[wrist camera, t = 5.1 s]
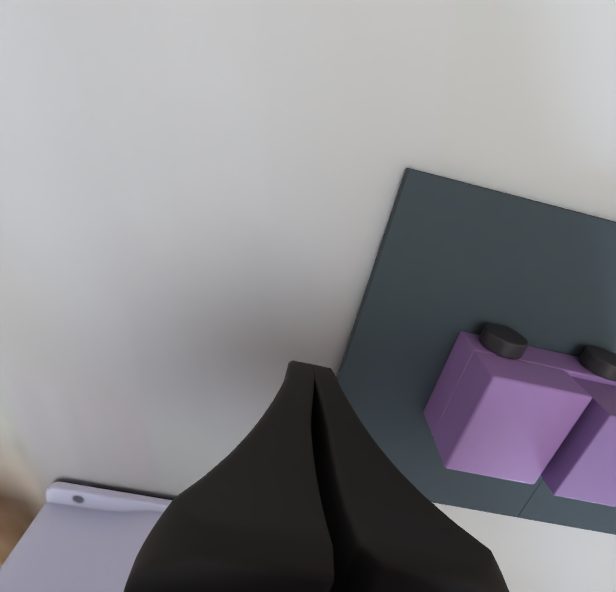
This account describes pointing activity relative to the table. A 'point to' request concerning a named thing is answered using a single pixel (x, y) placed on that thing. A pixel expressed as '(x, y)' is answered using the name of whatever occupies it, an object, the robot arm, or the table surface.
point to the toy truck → (528, 414)
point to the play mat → (474, 323)
